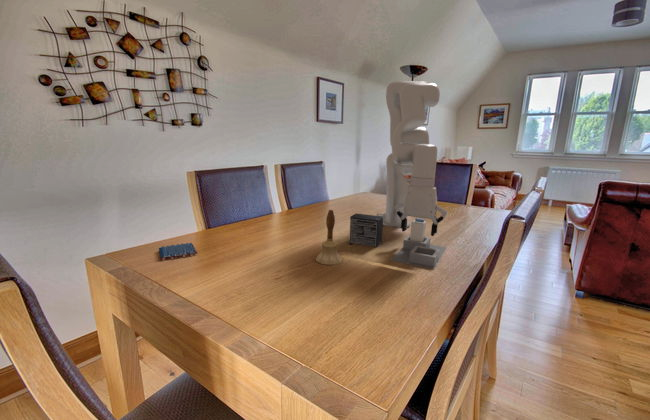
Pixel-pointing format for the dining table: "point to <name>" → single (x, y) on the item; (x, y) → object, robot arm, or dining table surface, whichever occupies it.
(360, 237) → the small box
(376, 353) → the dining table surface
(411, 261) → the panel
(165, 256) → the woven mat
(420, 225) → the plug
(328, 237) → the hand bell
